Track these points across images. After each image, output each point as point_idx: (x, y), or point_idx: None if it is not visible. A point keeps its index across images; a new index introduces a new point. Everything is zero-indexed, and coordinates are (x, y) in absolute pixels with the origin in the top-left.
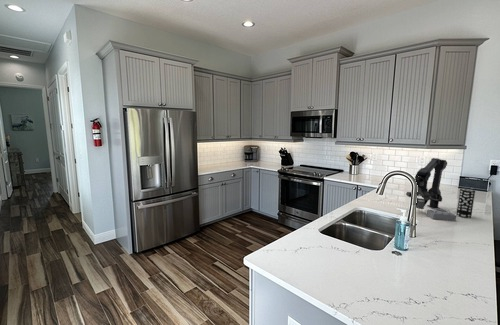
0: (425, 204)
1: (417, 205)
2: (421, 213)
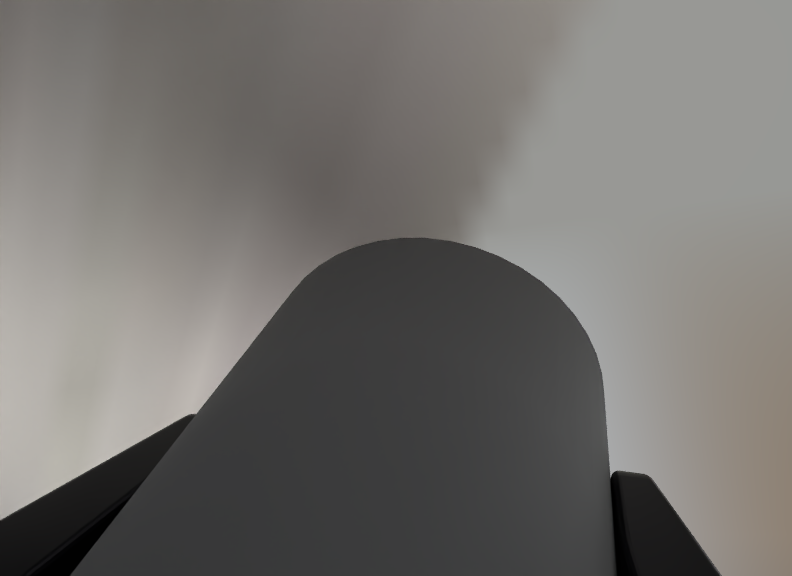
0: (76, 478)
1: (595, 455)
2: (466, 87)
